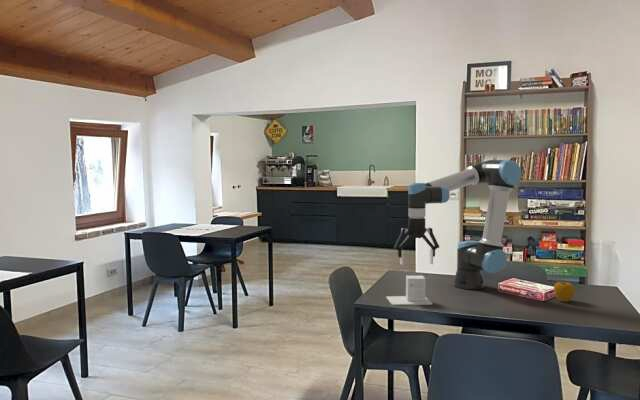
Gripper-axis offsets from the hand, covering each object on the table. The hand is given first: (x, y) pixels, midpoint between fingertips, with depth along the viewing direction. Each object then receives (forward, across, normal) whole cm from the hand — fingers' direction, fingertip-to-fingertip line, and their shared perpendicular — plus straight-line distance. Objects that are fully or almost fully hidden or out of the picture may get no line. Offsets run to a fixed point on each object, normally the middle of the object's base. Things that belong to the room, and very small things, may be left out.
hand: (416, 264), depth 214 cm
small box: (+16, 0, 0) cm, 17 cm away
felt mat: (+17, +4, 0) cm, 17 cm away
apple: (+18, -68, +5) cm, 70 cm away
